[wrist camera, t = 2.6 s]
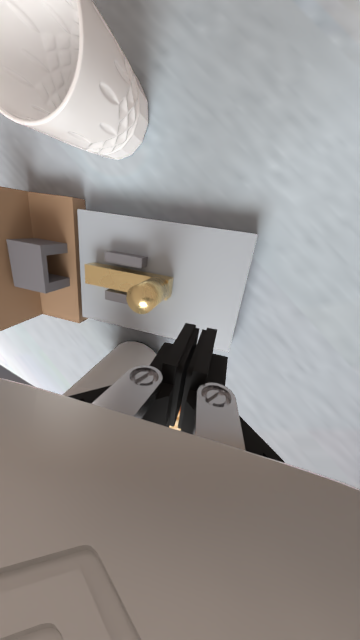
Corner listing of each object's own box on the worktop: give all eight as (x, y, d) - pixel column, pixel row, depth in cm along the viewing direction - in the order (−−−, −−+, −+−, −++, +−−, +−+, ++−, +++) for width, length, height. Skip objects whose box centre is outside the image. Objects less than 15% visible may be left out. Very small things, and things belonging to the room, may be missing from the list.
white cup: (116, 32, 19) (-4, -151, 10) (172, 119, 20) (112, 26, 11) (64, 115, 22) (-61, 36, 13) (115, 186, 23) (32, 157, 14)
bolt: (175, 275, 22) (155, 288, 17) (172, 298, 23) (152, 317, 18) (93, 260, 24) (54, 267, 19) (94, 282, 25) (56, 294, 20)
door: (259, 222, 21) (267, 217, 14) (228, 351, 26) (221, 396, 19) (28, 192, 26) (-56, 177, 19) (42, 306, 31) (-19, 328, 24)
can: (112, 334, 30) (37, 392, 19) (165, 342, 28) (115, 410, 17) (116, 381, 33) (53, 454, 22) (165, 390, 31) (122, 475, 20)
